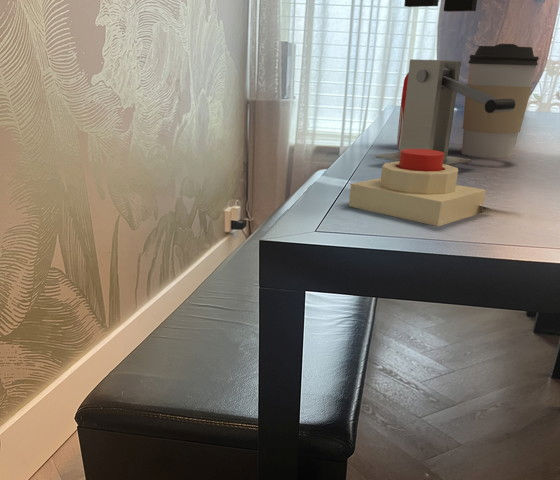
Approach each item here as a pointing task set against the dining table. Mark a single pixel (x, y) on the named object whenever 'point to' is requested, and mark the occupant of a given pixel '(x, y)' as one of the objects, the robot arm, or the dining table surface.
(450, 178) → the button block
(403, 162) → the button
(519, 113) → the coffee cup
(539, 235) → the dining table surface
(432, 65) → the bracket
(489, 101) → the lever
